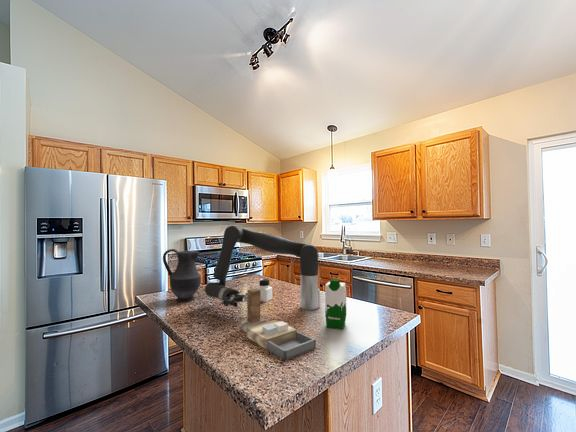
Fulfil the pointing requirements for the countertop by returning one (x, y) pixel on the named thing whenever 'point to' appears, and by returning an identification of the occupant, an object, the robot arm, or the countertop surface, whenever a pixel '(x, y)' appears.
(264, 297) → the medicine bottle
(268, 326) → the tile
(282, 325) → the tile
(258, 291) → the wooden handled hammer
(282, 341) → the light wood board
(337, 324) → the milk carton
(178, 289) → the pitcher
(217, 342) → the countertop surface
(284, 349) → the tray
